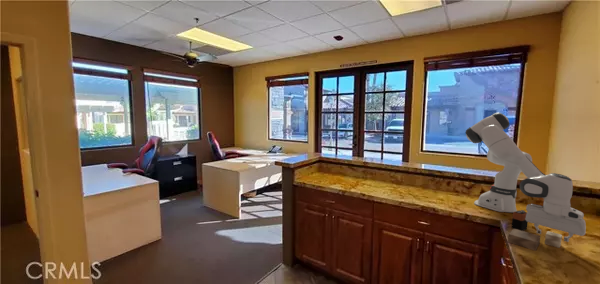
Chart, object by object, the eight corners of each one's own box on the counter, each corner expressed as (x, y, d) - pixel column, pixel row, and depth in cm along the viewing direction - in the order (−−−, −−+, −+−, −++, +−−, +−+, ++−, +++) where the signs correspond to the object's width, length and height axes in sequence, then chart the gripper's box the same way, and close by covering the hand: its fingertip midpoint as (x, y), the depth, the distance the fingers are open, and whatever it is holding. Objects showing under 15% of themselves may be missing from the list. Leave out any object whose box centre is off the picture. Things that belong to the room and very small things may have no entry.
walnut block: (507, 241, 124) (508, 233, 124) (512, 236, 131) (513, 228, 130) (535, 250, 117) (536, 242, 116) (539, 243, 123) (540, 235, 123)
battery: (510, 228, 140) (513, 210, 139) (517, 226, 143) (519, 208, 142) (520, 231, 136) (522, 213, 135) (527, 229, 139) (529, 211, 138)
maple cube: (544, 243, 124) (546, 233, 123) (546, 240, 127) (547, 230, 126) (559, 248, 120) (560, 237, 119) (560, 244, 123) (562, 234, 122)
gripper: (525, 203, 127) (522, 230, 129) (587, 217, 112) (582, 248, 113) (528, 201, 131) (525, 227, 133) (588, 214, 116) (583, 243, 117)
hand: (552, 237), depth 123 cm, fingers open, 8 cm apart
